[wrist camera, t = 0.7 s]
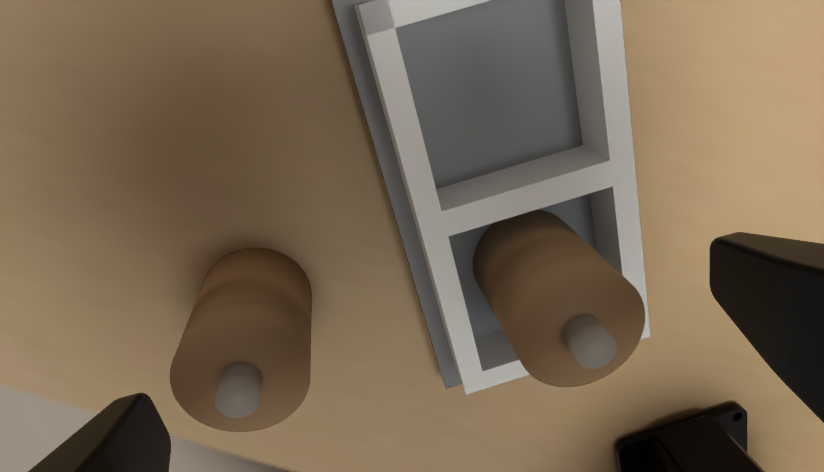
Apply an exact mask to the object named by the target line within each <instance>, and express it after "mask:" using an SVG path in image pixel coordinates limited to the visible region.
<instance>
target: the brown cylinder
mask: <svg viewBox="0 0 824 472" xmlns="http://www.w3.org/2000/svg"><path fill="white" fill-rule="evenodd" d="M311 307H312V291H311V286H310V282H309V280H308V278H307V275H306V274H305V272H304V271H303V269H302V268H301V267H300V266H299V265H298V264H297V263H296V262H295V261H294V260H292V259H291V258H289V257H288V256H286V255H284V254H282V253H280V252H277V251H274V250H270V249H264V248H247V249H242V250H238V251H235V252H232V253H230V254H228V255H226V256H224V257H223V258H221V259H220V260H219V261H218V262H216V263H215V264H214V265H213V267H212V268H211V269H210V270H209V272H208V274H207V275H206V278H205V280H204V283H203V285H202V288H201V290H200V293H199V295H198V298H197V300H196V303H195V305H194V308H193V311H192V313H191V316H190V318H189V321H188V323H187V326H186V328H185V331H184V333H183V336H182V338H181V341H180V343H179V346H178V349H177V351H176V354H175V356H174V359H173V361H172V365H171V369H170V384H171V388H172V391H173V394H174V396H175V398H176V400H177V401H178V403H179V404H180V406H181V407H182V408H183V409H184V410H185V411H186V412H187V413H188V414H189V415H190V416H191V417H193V418H194V419H196V420H197V421H199V422H201V423H203V424H205V425H207V426H210V427H213V428H216V429H220V430H224V431H231V432H249V431H256V430H261V429H264V428H268V427H270V426H273V425H275V424H277V423H279V422H281V421H283V420H284V419H286V418H287V417H289V416H290V415H291V414H292V413H293V412H294V411H295V410H296V409H297V408H298V407H299V406H300V404H301V403H302V402H303V400H304V398H305V396H306V394H307V391H308V388H309V384H310V360H311Z"/></svg>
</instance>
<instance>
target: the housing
mask: <svg viewBox="0 0 824 472" xmlns="http://www.w3.org/2000/svg"><path fill="white" fill-rule="evenodd" d="M331 2H332V5H333V9H334V12H335V16H336V19H337V22H338V26H339V29H340V32H341V36H342V39H343V43H344V46H345V49H346V53H347V56H348V60H349V63H350V66H351V70H352V73H353V76H354V80H355V83H356V87H357V90H358V93H359V97H360V100H361V104H362V107H363V110H364V114H365V117H366V120H367V124H368V127H369V131H370V134H371V137H372V141H373V144H374V148H375V151H376V154H377V158H378V161H379V165H380V168H381V171H382V175H383V178H384V181H385V185H386V188H387V192H388V195H389V198H390V202H391V205H392V209H393V212H394V215H395V219H396V222H397V225H398V229H399V232H400V236H401V239H402V242H403V246H404V249H405V253H406V256H407V259H408V263H409V266H410V269H411V273H412V276H413V280H414V283H415V286H416V290H417V293H418V297H419V300H420V303H421V307H422V310H423V313H424V317H425V320H426V324H427V327H428V330H429V334H430V337H431V341H432V344H433V347H434V351H435V354H436V358H437V361H438V364H439V368H440V371H441V374H442V377H443V380H444V384H445V387H446V389H447V388H450V387H453V386H456V385H459V384H462V385H463V388H464V390H465V393H466V395H467V394H470V393H473V392H476V391H479V390H483V389H486V388H489V387H492V386H495V385H498V384H502V383H505V382H508V381H511V380H514V379H517V378H521V377H524V376H527V375H530V374H529V373H528V372H527V371H526V370H525V368H524V367H523V365H522V364H521V362H520V360H519V358H518V356H517V355H516V353H515V351H514V349H513V347H512V346H511V344H510V342H509V340H508V338H507V337H506V335H505V333H504V331H503V329H502V328H501V326H500V324H499V322H498V320H497V319H496V317H495V315H494V313H493V311H492V309H491V308H490V306H489V304H488V302H487V300H486V299H485V297H484V295H483V293H482V291H481V290H480V288H479V286H478V284H477V282H476V280H475V277H474V273H473V256H474V252H475V249H476V246H477V244H478V242H479V240H480V238H481V237H482V235H483V234H484V233H485V231H486V230H487V229H488V228H489V227H490V226H491V225H492V224H494V223H495V222H497V221H501V220H504V219H507V218H511V217H514V216H517V215H520V214H524V213H527V212H530V211H534V210H537V209H538V210H544V211H547V212H550V213H552V214H554V215H556V216H558V217H559V218H560V219H562V220H563V221H564V222H565V223H566V224H567V225H568V226H569V227H570V228H571V229H572V230H574V231H575V232H576V233H577V234H578V235H579V236H580V237H581V238H582V239H583V240H584V241H586V242H587V243H588V244H589V245H590V246H591V247H592V248H593V249H594V250H595V251H596V252H597V253H599V254H600V255H601V256H602V257H603V258H604V259H605V260H606V261H607V262H608V263H609V264H610V265H612V266H613V267H614V268H615V269H616V270H617V271H618V272H619V273H620V274H621V275H622V276H623V277H625V278H626V279H627V280H628V281H629V282H630V283H631V284H632V285H633V286H634V287H635V288H636V289H637V291H638V292H639V294H640V296H641V298H642V300H643V303H644V308H645V325H644V330H643V333H642V336H641V338H640V340H641V339H644V338H647V337H650V328H649V317H648V306H647V295H646V284H645V273H644V262H643V251H642V239H641V228H640V217H639V206H638V195H637V184H636V173H635V162H634V151H633V139H632V128H631V117H630V106H629V95H628V84H627V73H626V62H625V50H624V39H623V28H622V17H621V6H620V0H331Z"/></svg>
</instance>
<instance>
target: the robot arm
mask: <svg viewBox="0 0 824 472" xmlns="http://www.w3.org/2000/svg"><path fill="white" fill-rule="evenodd" d="M710 288H711V292H712V294H713V296H714V298H715V299H716V301H717V302H718V303H719V305H720V306H721V307H722V308H723V310H724V311H725V312H726V313H727V315H728V316H729V317H730V318H731V319H732V321H733V322H734V323H735V324H736V326H737V327H738V328H739V329H740V331H741V332H742V333H743V334H744V336H745V337H746V338H747V339H748V341H749V342H750V343H751V344H752V346H753V347H754V348H755V349H756V351H757V352H758V353H759V354H760V356H761V357H762V358H763V359H764V361H765V362H766V363H767V364H768V365H769V366H770V368H771V369H772V370H773V371H774V372H775V373H776V374H777V375H778V376H779V378H780V379H781V380H782V381H783V382H784V383H785V384H786V385H787V386H788V387H789V388H790V389H791V390H792V391H793V392H794V393H795V394H796V395H797V396H798V397H799V398H800V399H801V400H802V401H803V402H804V403H805V404H806V405H807V406H808V407H809V408H810V409H811V410H812V411H813V412H814V413H815V414H816V415H817V416H818V417H819V418H820V419H821V420H822V421H823V422H824V244H821V243H814V242H807V241H800V240H793V239H786V238H779V237H772V236H765V235H757V234H750V233H743V232H737V233H732V234H729V235H725V236H721V237H718V238H715V239H714V240H713V241H712V243H711V245H710ZM170 453H171V441H170V436H169V433H168V431H167V429H166V427H165V425H164V423H163V421H162V419H161V417H160V415H159V413H158V411H157V409H156V408H155V406H154V404H153V402H152V400H151V399H150V397H149V396H148V395H147V394H144V393H137V394H133V395H129V396H126V397H122V398H119V399H116V400H115V401H113V402H112V403H111V404H110V405H108V406H107V407H106V408H105V409H103V410H102V411H101V412H100V413H99V414H97V415H96V416H95V417H94V418H93V419H91V420H90V421H89V422H88V423H87V424H85V425H84V426H83V427H82V428H80V429H79V430H78V431H77V432H76V433H74V434H73V435H72V436H71V437H70V438H68V439H67V440H66V441H65V442H63V443H62V444H61V445H60V446H59V447H57V448H56V449H55V450H54V451H53V452H51V453H50V454H49V455H48V456H47V457H45V458H44V459H43V460H42V461H41V462H39V463H38V464H37V465H36V466H34V467H33V468H32V469H31V470H30V471H28V472H169V462H170ZM615 455H616V462H617V470H618V472H764V470H763V469H762V468H761V467H760V466H759V465H758V464H757V463H756V462H755V461H754V460H753V459H752V458H751V457H750V455H749V454H748V453H747V412H746V410H745V409H744V408H742V407H741V406H740V405H739V404H737V403H733V404H729V405H726V406H723V407H720V408H717V409H714V410H711V411H708V412H704V413H701V414H698V415H695V416H692V417H689V418H686V419H683V420H680V421H677V422H673V423H670V424H667V425H664V426H661V427H658V428H655V429H652V430H649V431H646V432H642V433H639V434H636V435H633V436H630V437H627V438H624V439H622V440H620V441H619V442H617V444H616V445H615Z"/></svg>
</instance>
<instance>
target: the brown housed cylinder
mask: <svg viewBox="0 0 824 472" xmlns="http://www.w3.org/2000/svg"><path fill="white" fill-rule="evenodd" d="M473 273H474V277H475V280H476V282H477V284H478V286H479V288H480V290H481V291H482V293H483V295H484V297H485V299H486V300H487V302H488V304H489V306H490V308H491V309H492V311H493V313H494V315H495V317H496V319H497V320H498V322H499V324H500V326H501V328H502V329H503V331H504V333H505V335H506V337H507V338H508V340H509V342H510V344H511V346H512V347H513V349H514V351H515V353H516V355H517V356H518V358H519V360H520V362H521V364H522V365H523V367H524V368H525V370H526V371H527V372H528V373H529V374H530V375H531V376H533V377H534V378H535V379H537V380H539V381H541V382H543V383H546V384H548V385H552V386H557V387H575V386H582V385H585V384H589V383H592V382H595V381H597V380H599V379H601V378H603V377H605V376H607V375H609V374H610V373H612V372H613V371H614V370H616V369H617V368H618V367H620V366H621V365H622V364H623V363H624V362H625V361H626V360H627V359H628V357H629V356H630V355H631V354H632V352H633V351H634V350H635V348H636V346H637V345H638V343H639V341H640V338H641V336H642V333H643V330H644V325H645V308H644V303H643V300H642V298H641V296H640V294H639V292H638V291H637V289H636V288H635V287H634V286H633V285H632V284H631V283H630V282H629V281H628V280H627V279H626V278H625V277H623V276H622V275H621V274H620V273H619V272H618V271H617V270H616V269H615V268H614V267H613V266H612V265H610V264H609V263H608V262H607V261H606V260H605V259H604V258H603V257H602V256H601V255H600V254H599V253H597V252H596V251H595V250H594V249H593V248H592V247H591V246H590V245H589V244H588V243H587V242H586V241H584V240H583V239H582V238H581V237H580V236H579V235H578V234H577V233H576V232H575V231H574V230H572V229H571V228H570V227H569V226H568V225H567V224H566V223H565V222H564V221H563V220H562V219H560V218H559V217H558V216H556V215H554V214H552V213H550V212H547V211H544V210H538V209H537V210H534V211H530V212H527V213H524V214H520V215H517V216H514V217H511V218H507V219H504V220H501V221H497V222H495V223H494V224H492V225H491V226H490V227H489V228H488V229H487V230H486V231H485V233H484V234H483V235H482V237H481V238H480V240H479V242H478V244H477V246H476V249H475V252H474V256H473Z"/></svg>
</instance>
